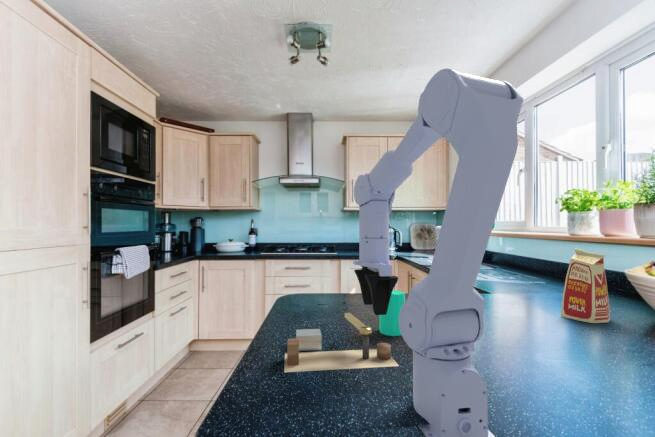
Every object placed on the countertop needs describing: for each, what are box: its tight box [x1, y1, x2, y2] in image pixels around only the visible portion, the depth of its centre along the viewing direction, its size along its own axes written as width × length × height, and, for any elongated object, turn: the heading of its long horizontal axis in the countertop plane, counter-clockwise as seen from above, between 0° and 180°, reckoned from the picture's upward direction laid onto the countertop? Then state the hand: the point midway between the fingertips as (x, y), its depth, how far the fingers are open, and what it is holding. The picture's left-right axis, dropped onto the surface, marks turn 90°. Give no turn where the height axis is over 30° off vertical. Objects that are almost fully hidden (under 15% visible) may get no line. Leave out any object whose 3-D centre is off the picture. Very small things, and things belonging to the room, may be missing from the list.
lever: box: [344, 312, 372, 336], centre depth 62 cm, size 2×12×1 cm, turn 14°
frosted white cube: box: [295, 328, 323, 352], centre depth 62 cm, size 4×5×4 cm
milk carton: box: [560, 247, 611, 324], centre depth 88 cm, size 9×9×20 cm
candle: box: [378, 290, 406, 337], centre depth 72 cm, size 6×6×12 cm
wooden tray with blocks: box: [283, 334, 400, 373], centre depth 56 cm, size 8×20×6 cm, turn 97°
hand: (374, 309), depth 58 cm, fingers open, 7 cm apart
